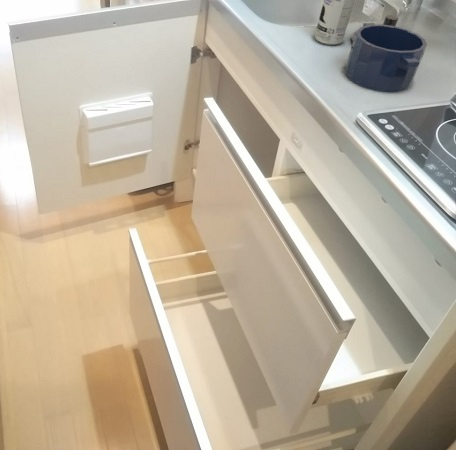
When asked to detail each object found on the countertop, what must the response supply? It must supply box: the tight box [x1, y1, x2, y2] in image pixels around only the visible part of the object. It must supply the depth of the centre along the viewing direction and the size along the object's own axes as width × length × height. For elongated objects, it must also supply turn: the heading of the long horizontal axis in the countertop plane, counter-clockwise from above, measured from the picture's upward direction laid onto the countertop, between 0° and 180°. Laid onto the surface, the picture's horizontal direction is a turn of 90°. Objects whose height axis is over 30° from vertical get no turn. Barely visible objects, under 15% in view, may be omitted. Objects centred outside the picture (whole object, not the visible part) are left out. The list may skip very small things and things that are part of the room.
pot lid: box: [351, 14, 399, 43], centre depth 120 cm, size 15×15×7 cm
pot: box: [344, 22, 428, 93], centre depth 108 cm, size 14×19×8 cm
